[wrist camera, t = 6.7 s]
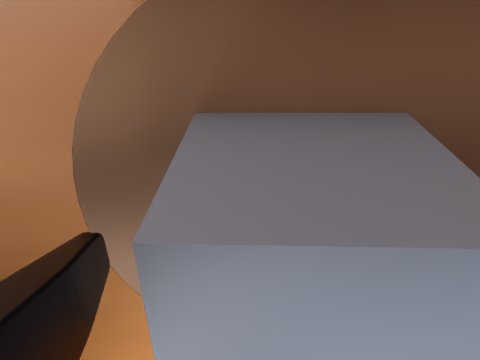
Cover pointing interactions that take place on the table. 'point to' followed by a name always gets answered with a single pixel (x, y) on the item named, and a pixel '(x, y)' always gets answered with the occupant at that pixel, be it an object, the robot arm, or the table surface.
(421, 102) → the brown disc
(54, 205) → the table surface
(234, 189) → the blue cube
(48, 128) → the table surface
